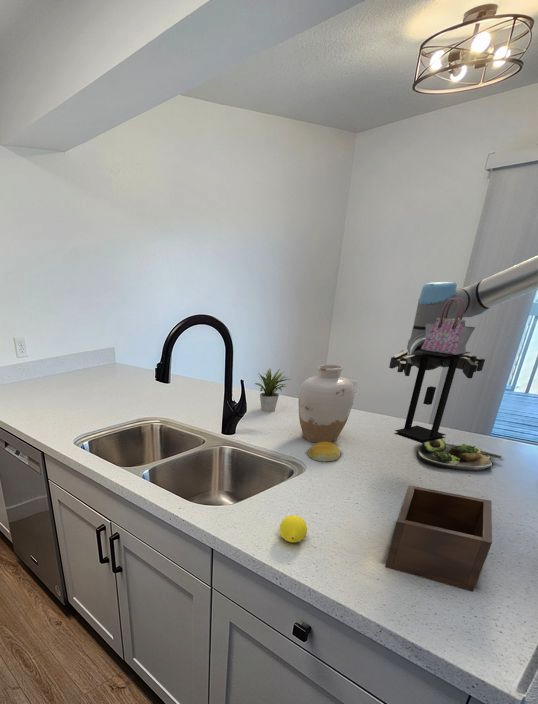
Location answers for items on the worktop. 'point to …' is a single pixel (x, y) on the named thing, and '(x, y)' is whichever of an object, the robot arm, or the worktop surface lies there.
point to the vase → (325, 404)
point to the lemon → (293, 528)
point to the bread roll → (324, 451)
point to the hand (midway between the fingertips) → (439, 370)
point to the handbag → (442, 344)
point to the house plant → (270, 391)
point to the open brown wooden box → (442, 537)
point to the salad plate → (454, 456)
